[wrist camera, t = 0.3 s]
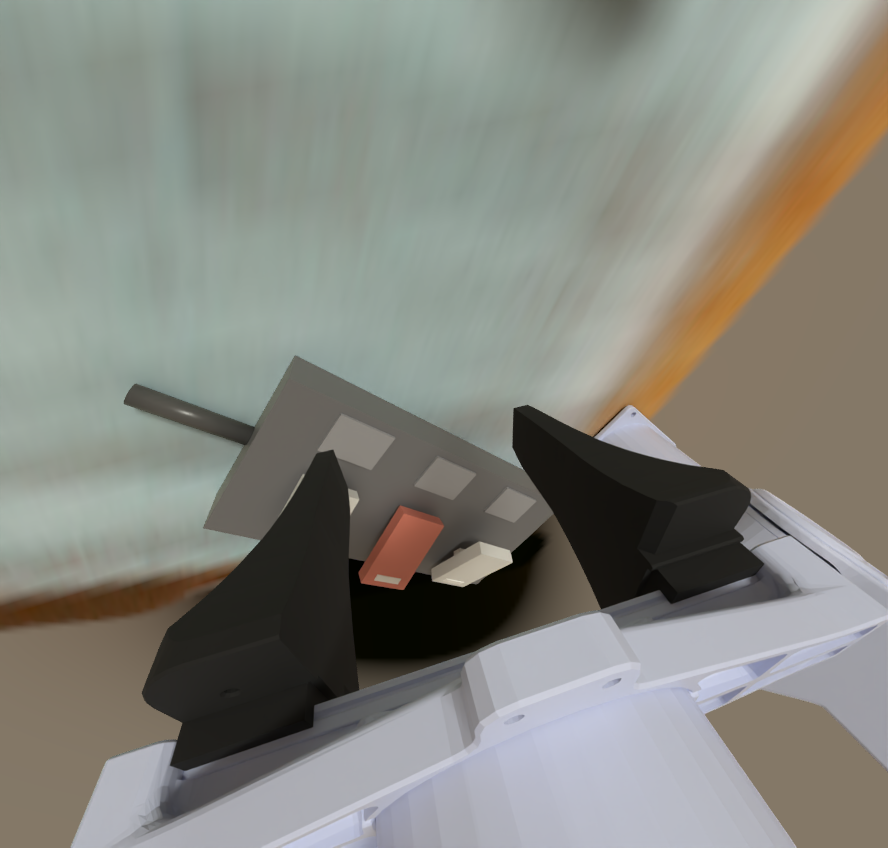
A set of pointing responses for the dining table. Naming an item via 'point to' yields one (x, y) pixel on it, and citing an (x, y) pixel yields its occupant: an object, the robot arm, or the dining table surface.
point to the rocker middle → (400, 549)
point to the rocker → (471, 564)
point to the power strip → (360, 466)
